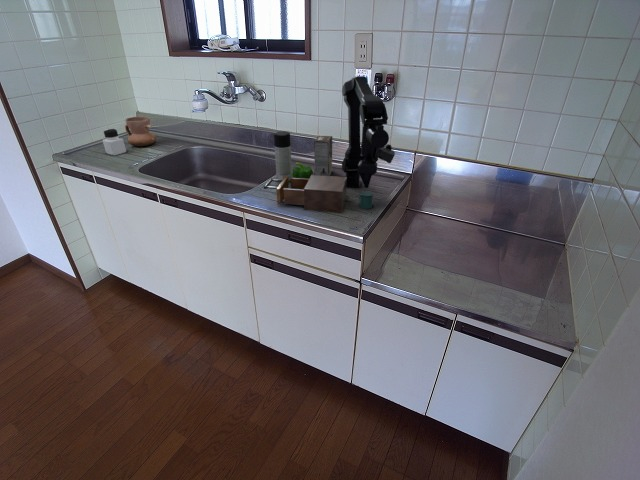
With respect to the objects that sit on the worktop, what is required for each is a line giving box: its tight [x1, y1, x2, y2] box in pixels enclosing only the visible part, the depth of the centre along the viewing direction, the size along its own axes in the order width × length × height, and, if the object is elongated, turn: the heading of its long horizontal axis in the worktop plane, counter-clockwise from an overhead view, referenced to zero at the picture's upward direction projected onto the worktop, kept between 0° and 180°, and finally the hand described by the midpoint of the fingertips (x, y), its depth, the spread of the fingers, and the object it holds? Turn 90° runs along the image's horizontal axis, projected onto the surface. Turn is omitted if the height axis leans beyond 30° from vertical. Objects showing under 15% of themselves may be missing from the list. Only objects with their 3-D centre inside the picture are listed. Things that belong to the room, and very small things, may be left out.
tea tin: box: [359, 190, 374, 210], centre depth 135 cm, size 5×5×5 cm
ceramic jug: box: [124, 116, 157, 148], centre depth 202 cm, size 18×14×14 cm
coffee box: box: [313, 135, 333, 176], centre depth 161 cm, size 9×6×16 cm
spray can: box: [273, 130, 293, 182], centre depth 154 cm, size 7×7×20 cm
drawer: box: [263, 176, 309, 206], centre depth 139 cm, size 18×13×6 cm
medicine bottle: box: [101, 128, 127, 156], centre depth 190 cm, size 7×7×12 cm
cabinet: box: [303, 174, 347, 213], centre depth 137 cm, size 14×14×8 cm
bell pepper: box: [292, 162, 314, 179], centre depth 150 cm, size 8×8×10 cm
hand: (367, 182), depth 132 cm, fingers open, 9 cm apart
